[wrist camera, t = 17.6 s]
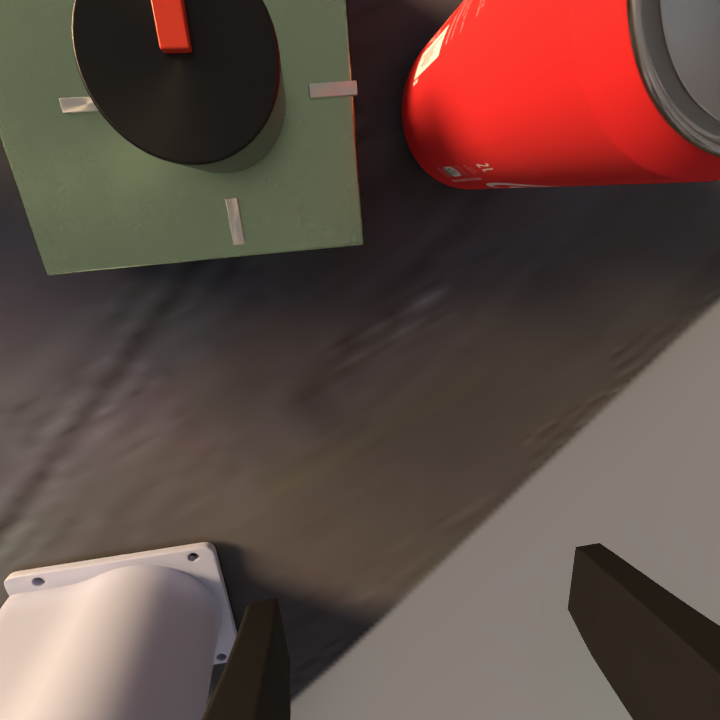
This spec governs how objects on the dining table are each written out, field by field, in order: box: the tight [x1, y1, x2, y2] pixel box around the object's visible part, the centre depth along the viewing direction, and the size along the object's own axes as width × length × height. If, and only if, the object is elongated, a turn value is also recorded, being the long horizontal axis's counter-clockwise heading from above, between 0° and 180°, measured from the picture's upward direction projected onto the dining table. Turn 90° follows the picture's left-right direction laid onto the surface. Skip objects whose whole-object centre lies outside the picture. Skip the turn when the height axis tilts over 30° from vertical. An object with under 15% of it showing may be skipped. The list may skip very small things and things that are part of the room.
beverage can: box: [402, 0, 720, 189], centre depth 11 cm, size 5×5×12 cm
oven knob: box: [71, 0, 285, 173], centre depth 10 cm, size 4×4×4 cm
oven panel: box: [0, 0, 364, 275], centre depth 14 cm, size 10×9×3 cm
